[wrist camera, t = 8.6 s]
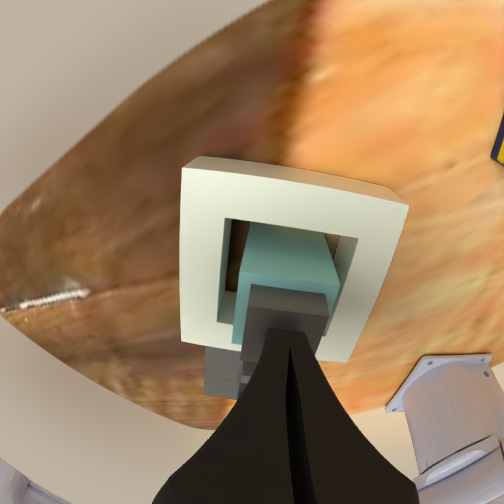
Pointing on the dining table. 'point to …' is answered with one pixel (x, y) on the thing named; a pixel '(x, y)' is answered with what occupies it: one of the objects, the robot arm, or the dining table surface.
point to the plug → (283, 286)
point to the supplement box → (499, 146)
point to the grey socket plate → (226, 373)
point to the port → (290, 215)
